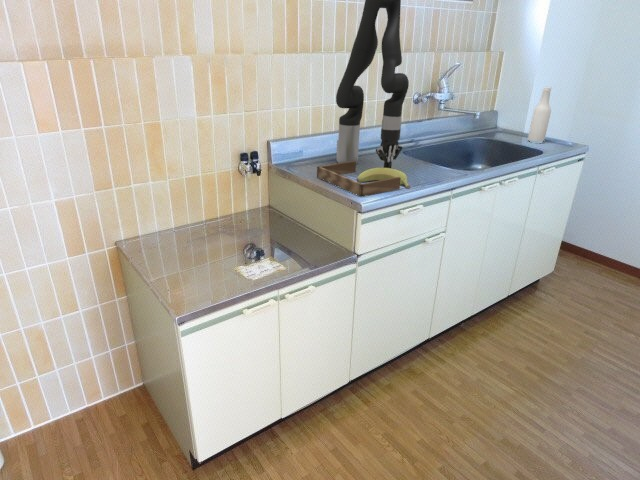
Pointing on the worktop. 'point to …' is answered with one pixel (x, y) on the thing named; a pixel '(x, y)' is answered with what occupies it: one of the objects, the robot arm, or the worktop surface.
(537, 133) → the alcohol
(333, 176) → the box
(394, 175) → the banana
